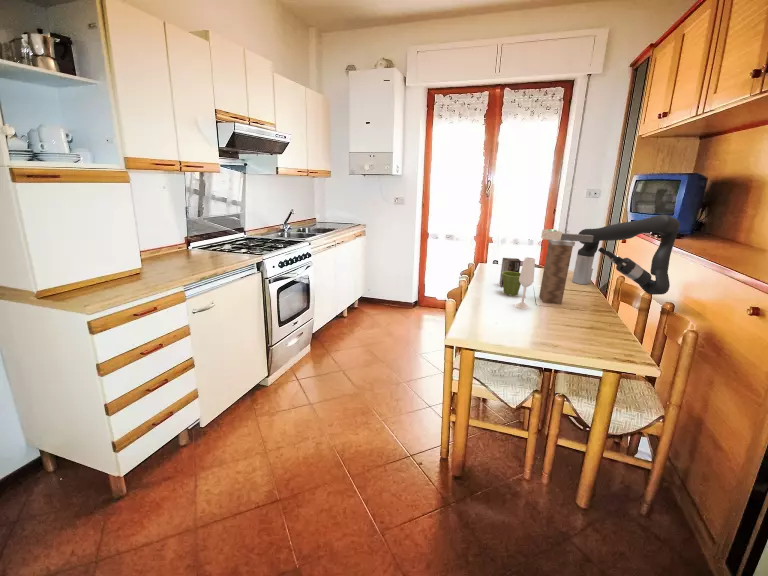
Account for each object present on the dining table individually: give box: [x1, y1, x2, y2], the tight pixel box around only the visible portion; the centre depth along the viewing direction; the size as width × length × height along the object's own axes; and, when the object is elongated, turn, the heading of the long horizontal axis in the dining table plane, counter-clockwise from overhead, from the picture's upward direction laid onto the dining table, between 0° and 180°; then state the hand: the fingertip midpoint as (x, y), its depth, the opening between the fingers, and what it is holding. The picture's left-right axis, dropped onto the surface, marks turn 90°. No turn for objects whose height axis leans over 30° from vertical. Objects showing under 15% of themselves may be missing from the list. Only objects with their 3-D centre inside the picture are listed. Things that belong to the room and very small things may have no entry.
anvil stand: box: [538, 239, 576, 305], centre depth 193 cm, size 10×10×32 cm
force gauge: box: [540, 228, 594, 242], centre depth 188 cm, size 23×5×5 cm, turn 81°
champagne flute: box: [514, 256, 536, 309], centre depth 184 cm, size 7×7×24 cm
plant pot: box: [502, 271, 522, 297], centre depth 205 cm, size 12×12×11 cm
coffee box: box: [498, 257, 522, 288], centre depth 218 cm, size 9×6×16 cm
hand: (602, 250), depth 187 cm, fingers open, 8 cm apart
